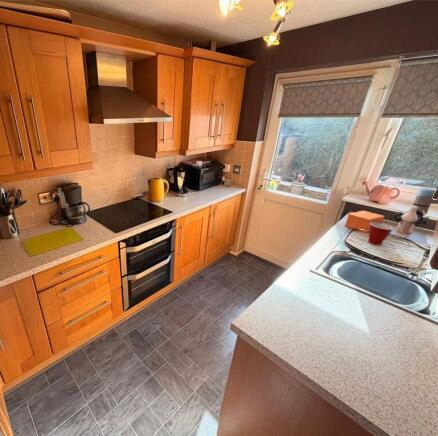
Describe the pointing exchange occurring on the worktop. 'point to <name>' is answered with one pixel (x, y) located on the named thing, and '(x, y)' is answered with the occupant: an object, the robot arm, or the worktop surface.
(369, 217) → the lid
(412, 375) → the worktop surface
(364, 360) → the worktop surface
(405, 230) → the bath foam
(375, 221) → the box
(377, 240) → the plastic cup
